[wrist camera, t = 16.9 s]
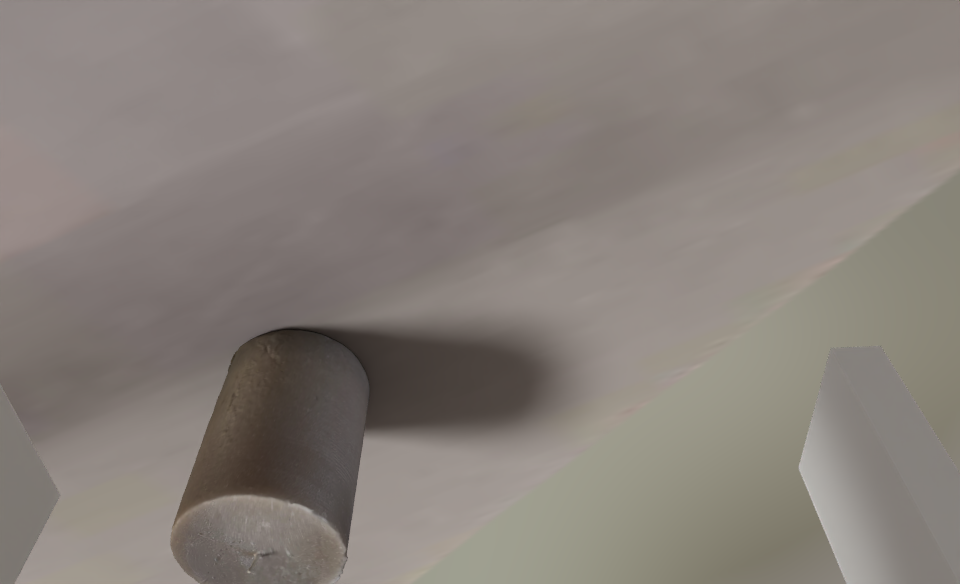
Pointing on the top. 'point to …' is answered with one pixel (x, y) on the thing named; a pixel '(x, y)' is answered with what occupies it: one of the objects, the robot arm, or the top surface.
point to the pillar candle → (276, 466)
